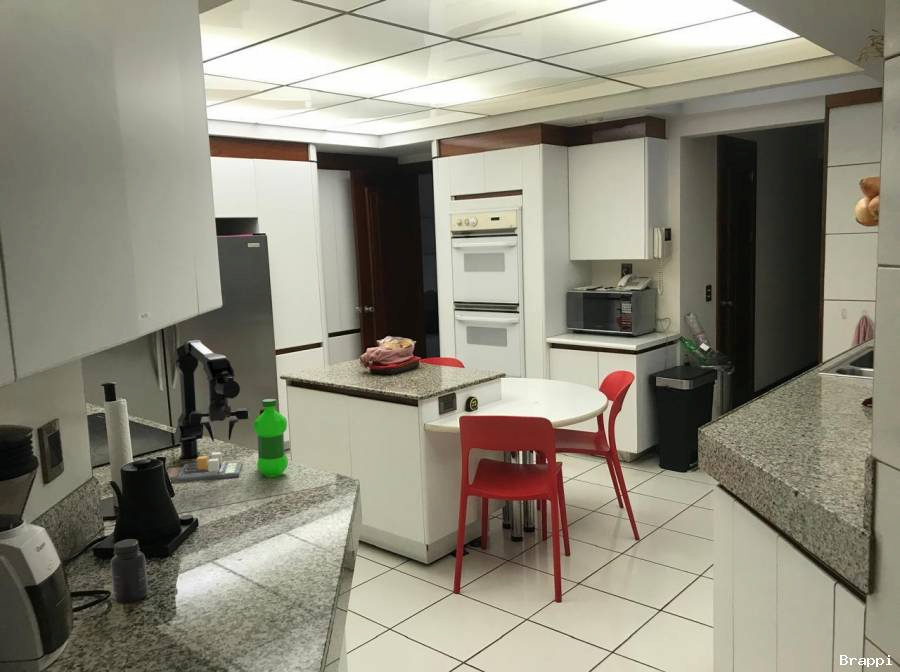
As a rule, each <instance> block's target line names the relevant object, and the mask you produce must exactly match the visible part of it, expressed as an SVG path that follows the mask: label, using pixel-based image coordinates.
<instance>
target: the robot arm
mask: <svg viewBox="0 0 900 672" xmlns="http://www.w3.org/2000/svg"><path fill="white" fill-rule="evenodd" d="M171 356H172V357H171V358H172V362H173V364H174V368H175V369H176V370H177V372H178V373H179V382H180V400H181V414H180V416H179V417H178V419H177V426H176V428H175V432H174V434H173V437H174V441H175V442H177V443H179V444H180V456H179V457H178V459H179V460H183V459H184V460H185V459H194V458H195V459H197V458H198V457H200V454H201V451H199V450H198V449H199V448H198V440H200V439H203V436H204V427H205V428H206V430H207V432H208V434H209V436H210V438H211V441H212V442H215V433H214V427H213V426H214V425H213V422H216V421H219V422H223V421H225V420H226V418H229V421H228V441H230V440H231V438H232V434H233V431H234V427H235V425H236V423H238V422H239V421H240V420H248V419H249V418H250V415H251V413H250V408H248V407H238V408H236V410H234V411H233V410H232V406H231V404H229V399H230V400H231V399H236V398H237V397H238V396H239V394H240V391H241V387H240V385H239V383H238V382H237V381H236V380H234V377H235V371H234V368H233V366H232V364H231V363H230V360H229V359H228V357H226V355H223V354H219V353H215V352H213V351H212V350H210V349H209V348H208V347H207V346H205V345H204V344H203V343H202V341H201V340H199V339H196V340H187V341H185V342H184V344H182V345H181V346H179V347H177V348H175V350H174V351H173V352H172V355H171ZM199 362H200V363H201V364H202V369H203V371H204V373H205V374H206V376H207V377H206V380H207V381H208V391H209V407H208V412H204V410H197V405H196V404H197V403H196V402H197V401H196V385H195V372H196V370H197V369H198V366H199Z"/></svg>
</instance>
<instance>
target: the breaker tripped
mask: <svg viewBox="0 0 900 672" xmlns="http://www.w3.org/2000/svg"><path fill="white" fill-rule="evenodd" d="M208 457H209V456H208V455H205V456H204V455H203V456H198V457H197V458H196V463H197V467H198V470H200V469H208V460H209V458H208Z"/></svg>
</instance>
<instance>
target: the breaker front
mask: <svg viewBox="0 0 900 672" xmlns="http://www.w3.org/2000/svg"><path fill="white" fill-rule="evenodd" d="M208 470H209V472H218V473H219V458H217V459H211V458H208Z"/></svg>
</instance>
